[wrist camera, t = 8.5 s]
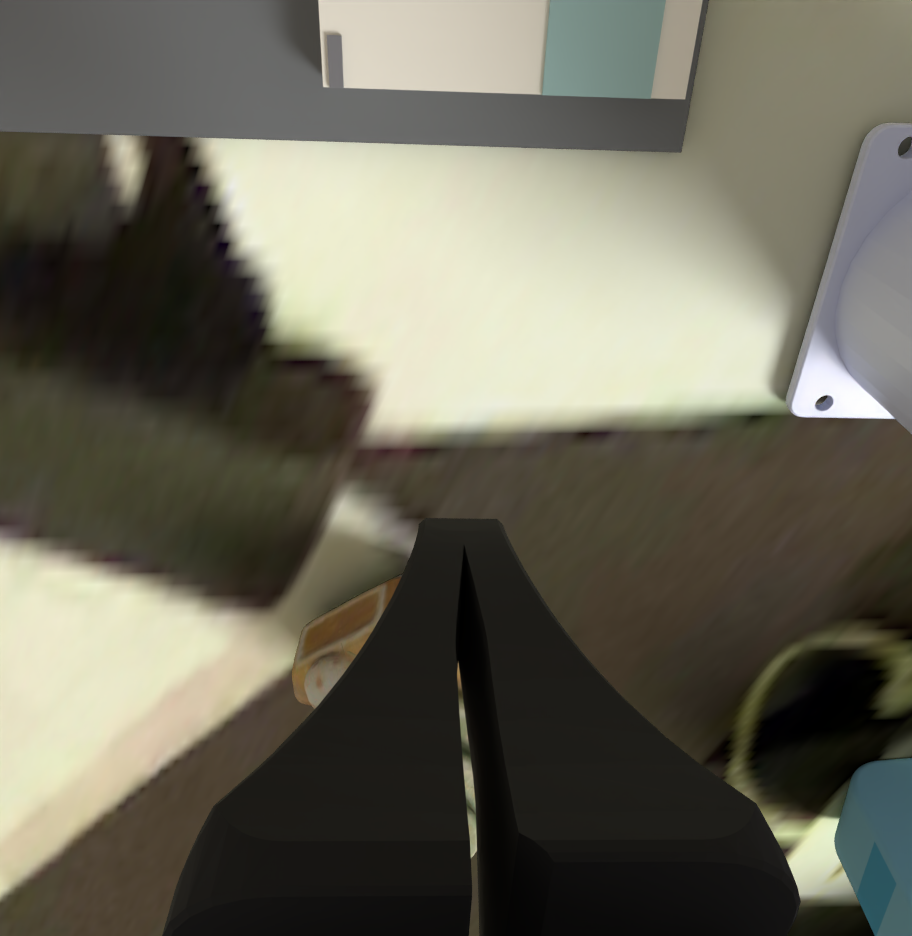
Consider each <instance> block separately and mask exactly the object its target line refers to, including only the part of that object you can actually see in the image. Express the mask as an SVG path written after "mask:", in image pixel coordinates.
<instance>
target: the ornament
mask: <svg viewBox="0 0 912 936" xmlns="http://www.w3.org/2000/svg"><path fill="white" fill-rule="evenodd" d="M402 575H403V574H402ZM402 575H399V576H397V577H395V578H393V579H390V580H388V581H386V582H384V583H382V584H380V585H378V586H376V587H374V588H372V589H370V590H368V591H366V592H364V593H362V594H360V595H358V596H356V597H354V598H353V599H351V600H349V601H347V602H345V603H344V604H342V605H340V606H338V607H336V608H334V609H332V610H330V611H329V612H327V613H325V614H323V615H321V616H319V617H318V618H316V619H314V620H313V621H311V622H310V623H308V624H307V625H306V626H305V627H304V629H303V630H302V633H301V637H300V640H299V644H298V648H297V651H296V655H295V659H294V664H293V669H292V680H293V687H294V693H295V696H296V698H297V700H298V701H299V702H301V703H303V704H307V705H311V706H313V708H314V709H315V708H316V707H317V706H318V705H319V704H320V702H321V701H322V700H323V699H324V698H325V696H326V695H327V694H328V693H329V691H330V690H331V689H332V688H333V686H334V685H335V684H336V683H337V681H338V680H339V679H340V678H341V676H342V675H343V674H344V672H345V671H346V670H347V668H348V667H349V665H350V664H351V663H352V661H353V660H354V658H355V657H356V656H357V654H358V653H359V651H360V650H361V648H362V647H363V645H364V644H365V642H366V641H367V639H368V637H369V636H370V634H371V633H372V631H373V629H374V628H375V626H376V624H377V622H378V621H379V619H380V617H381V615H382V614H383V612H384V610H385V609H386V607H387V605H388V603H389V601H390V600H391V598H392V596H393V594H394V592H395V589H396V587H397V585H398V583H399V581H400V579H401V577H402ZM457 681H458V697H459V714H460V728H461V742H462V756H463V769H464V781H465V792H466V804H467V815H468V825H469V835H470V852H471V857H472V856H473V855H474V854H475V852H476V851H477V836H476V807H475V793H474V782H473V772H472V765H471V757H470V749H469V741H468V734H467V726H466V718H465V710H464V703H463V695H462V687H461V679H460V671H459V663H458V670H457Z"/></svg>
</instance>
